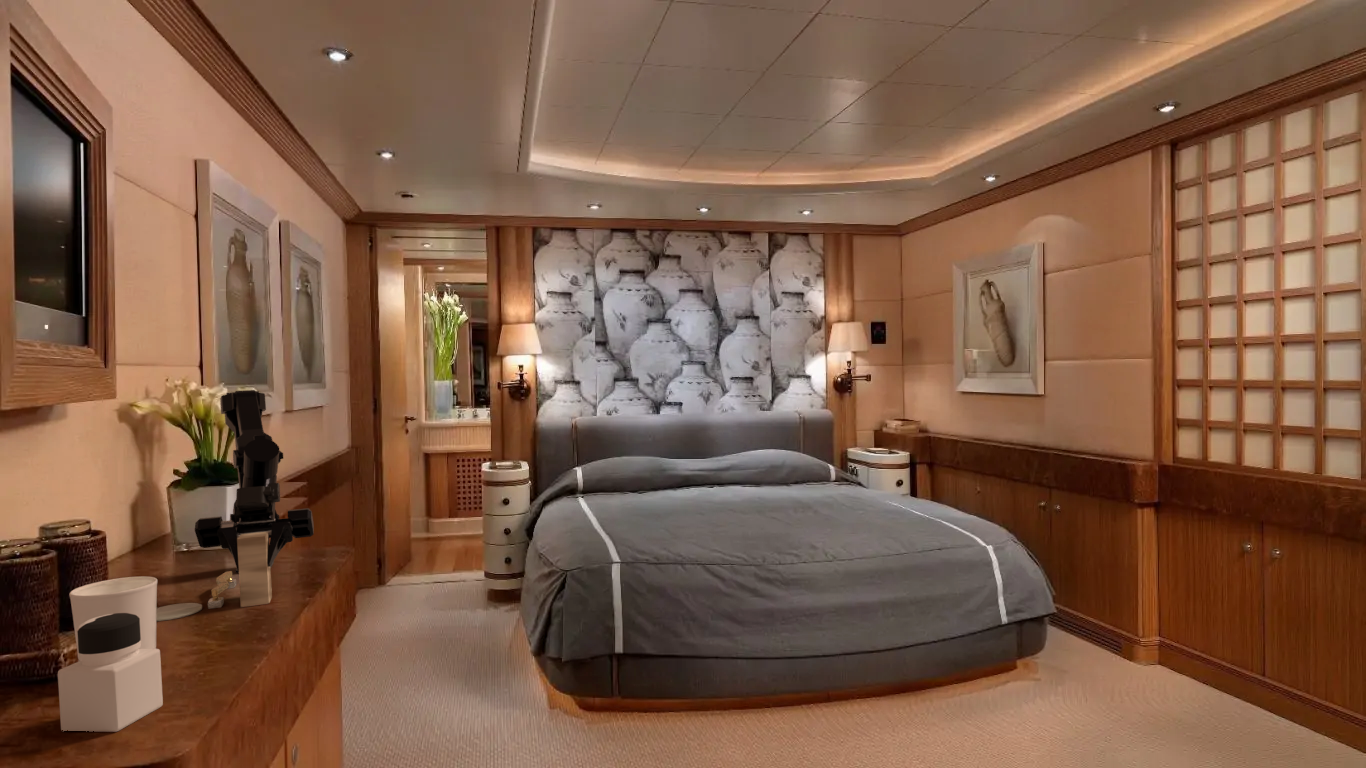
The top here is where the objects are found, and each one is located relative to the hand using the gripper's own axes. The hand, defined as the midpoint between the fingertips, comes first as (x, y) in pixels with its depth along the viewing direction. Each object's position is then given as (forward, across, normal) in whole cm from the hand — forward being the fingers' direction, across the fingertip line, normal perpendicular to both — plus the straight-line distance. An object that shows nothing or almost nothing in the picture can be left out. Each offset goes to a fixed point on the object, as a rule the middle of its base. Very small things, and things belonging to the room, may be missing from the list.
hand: (253, 567), depth 140 cm
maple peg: (+4, 0, +6) cm, 7 cm away
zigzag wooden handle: (-2, -6, +11) cm, 13 cm away
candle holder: (+25, -13, -15) cm, 32 cm away
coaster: (+4, -13, +6) cm, 15 cm away
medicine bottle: (+38, -9, -28) cm, 48 cm away
